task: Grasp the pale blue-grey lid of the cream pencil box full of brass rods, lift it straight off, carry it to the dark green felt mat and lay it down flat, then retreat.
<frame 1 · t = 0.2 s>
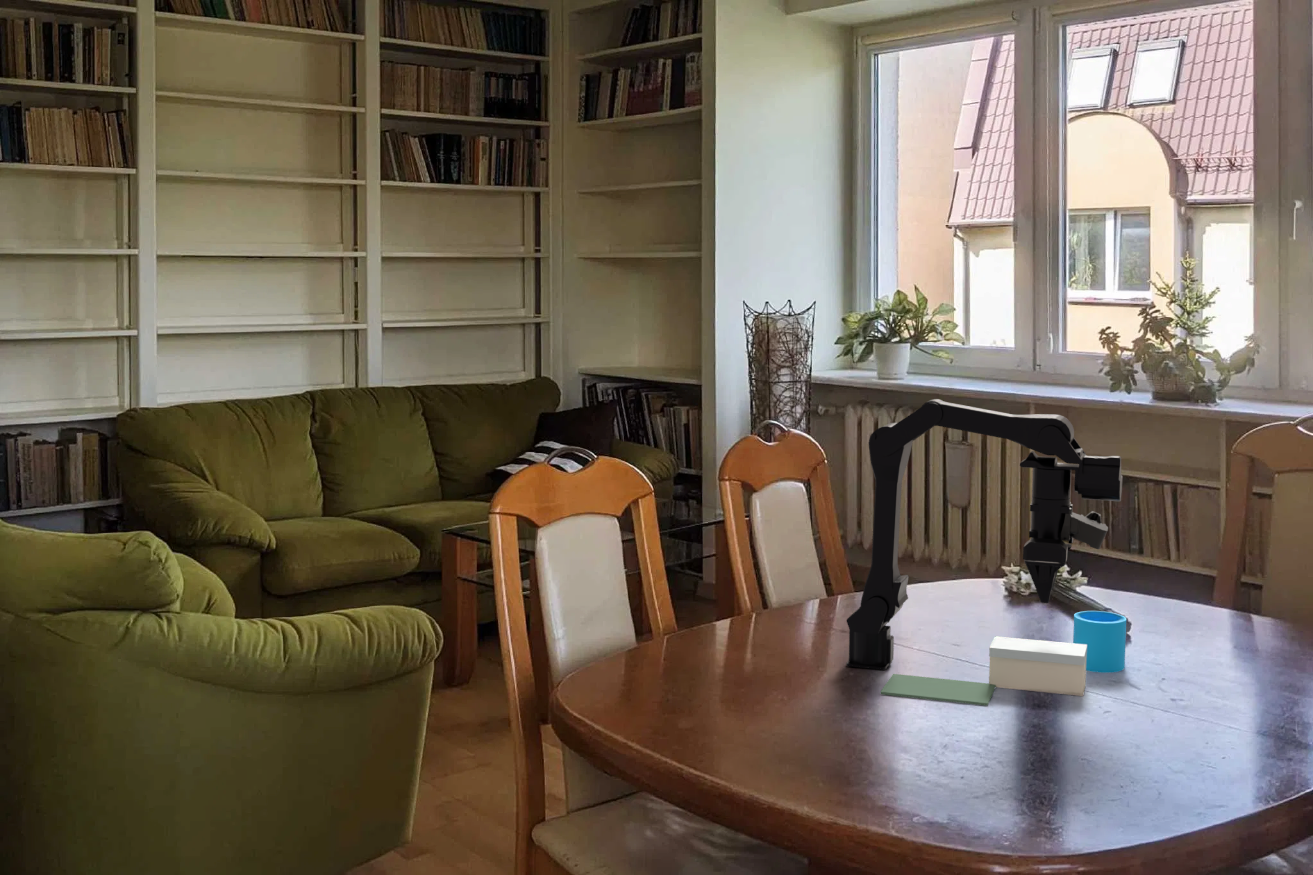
hand: (1047, 596, 209), 14 cm above the table, fingers open, 9 cm apart
felt mat: (938, 690, 207), on the table
pencil box: (1037, 686, 209), on the table
mug: (1103, 664, 221), on the table
lid: (1038, 654, 208), point 5 cm above the table, touching pencil box
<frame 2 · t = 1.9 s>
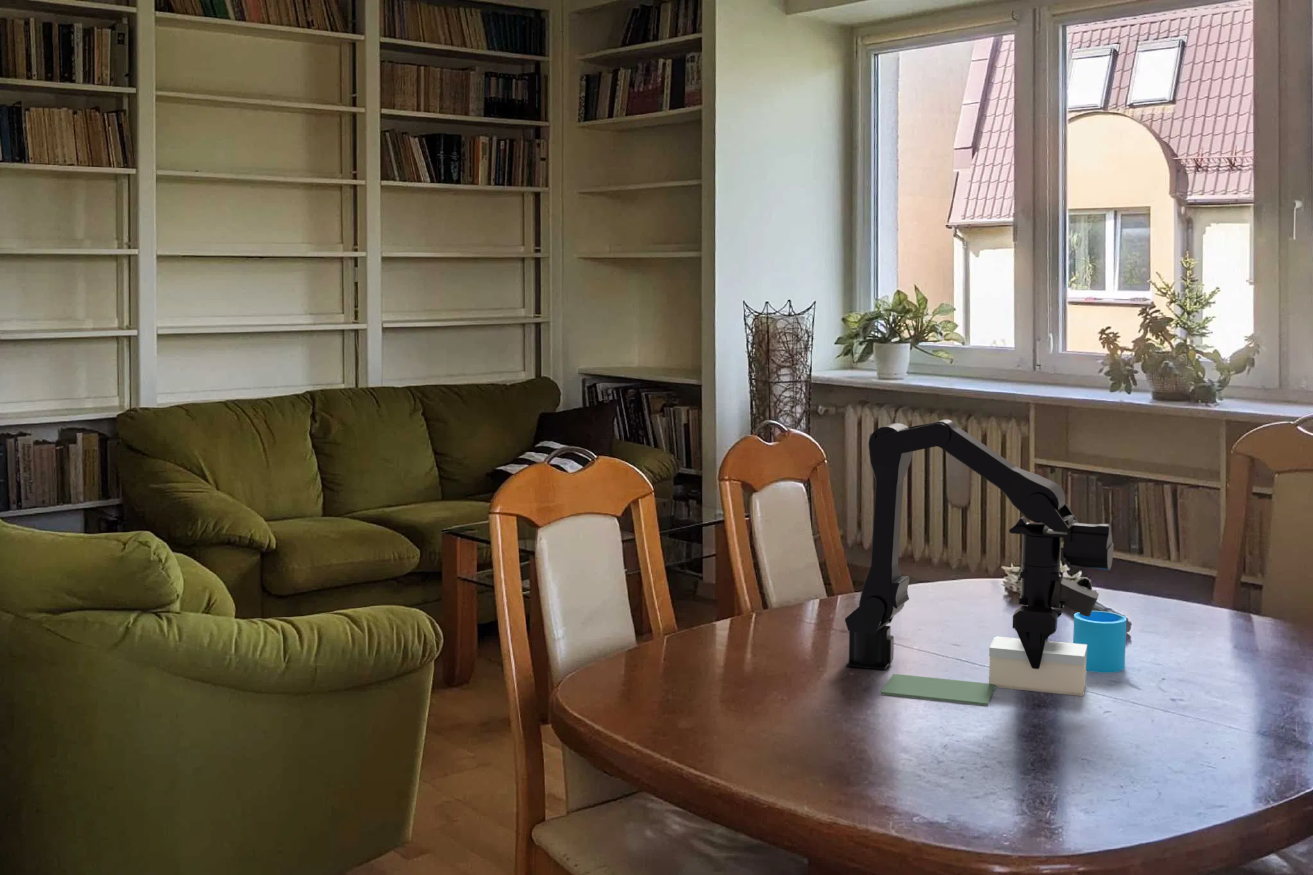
hand: (1037, 662, 208), 4 cm above the table, fingers closed on lid, 7 cm apart
lid: (1038, 654, 208), point 5 cm above the table, touching gripper, pencil box
everything else where it was.
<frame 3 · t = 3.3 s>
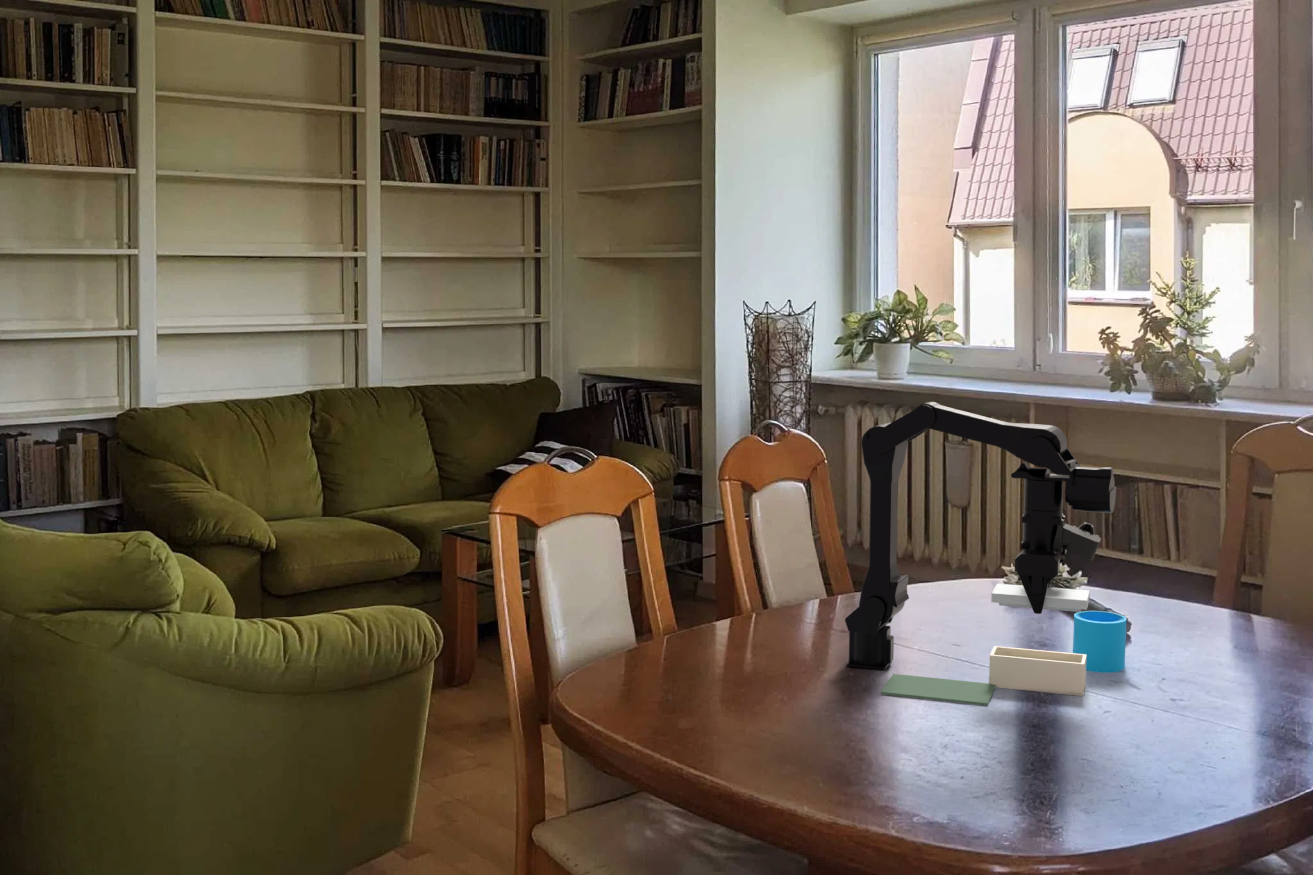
hand: (1040, 607, 207), 12 cm above the table, fingers closed on lid, 7 cm apart
lid: (1040, 600, 207), point 14 cm above the table, touching gripper
everything else where it was.
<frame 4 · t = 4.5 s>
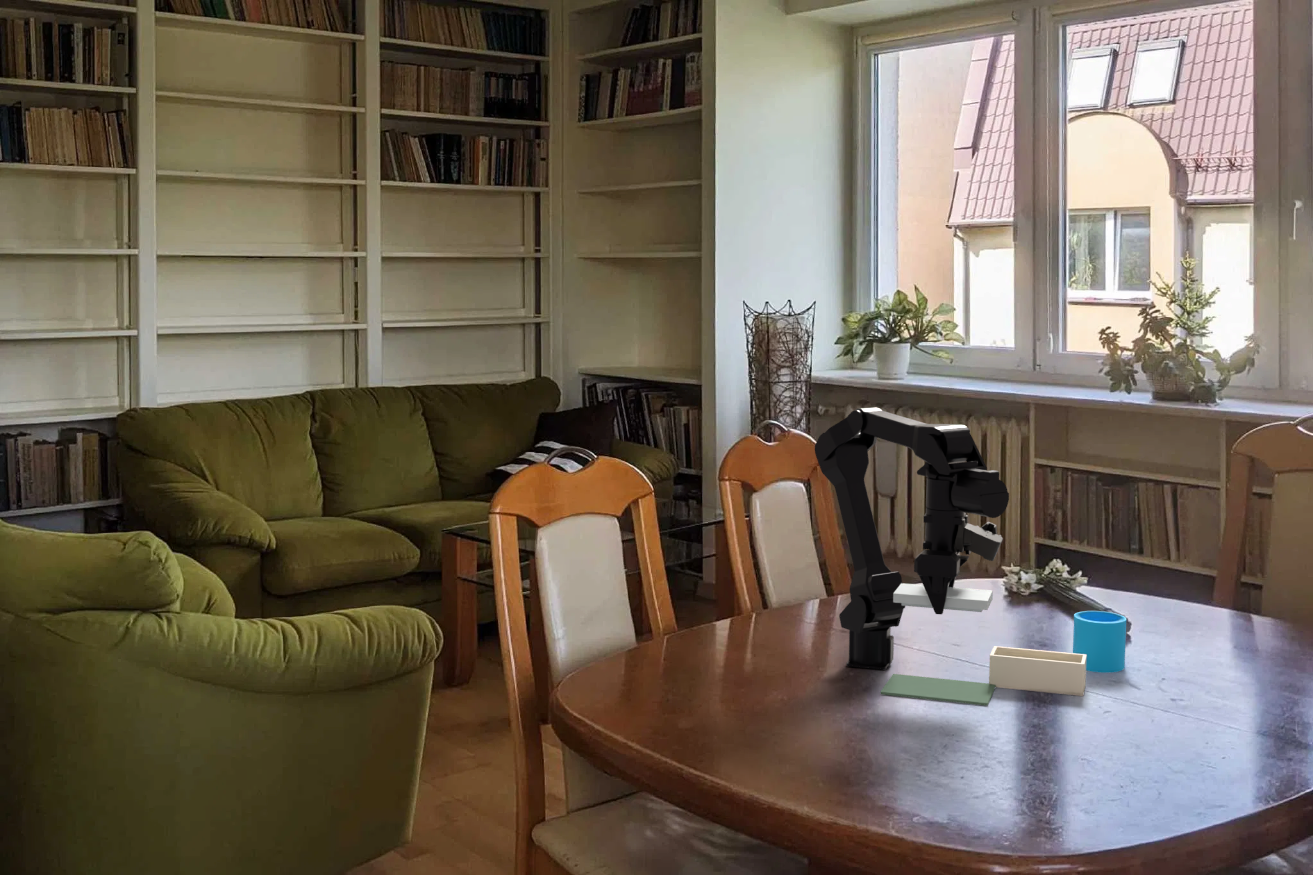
hand: (942, 608, 205), 13 cm above the table, fingers closed on lid, 7 cm apart
lid: (943, 600, 205), point 14 cm above the table, touching gripper
everything else where it was.
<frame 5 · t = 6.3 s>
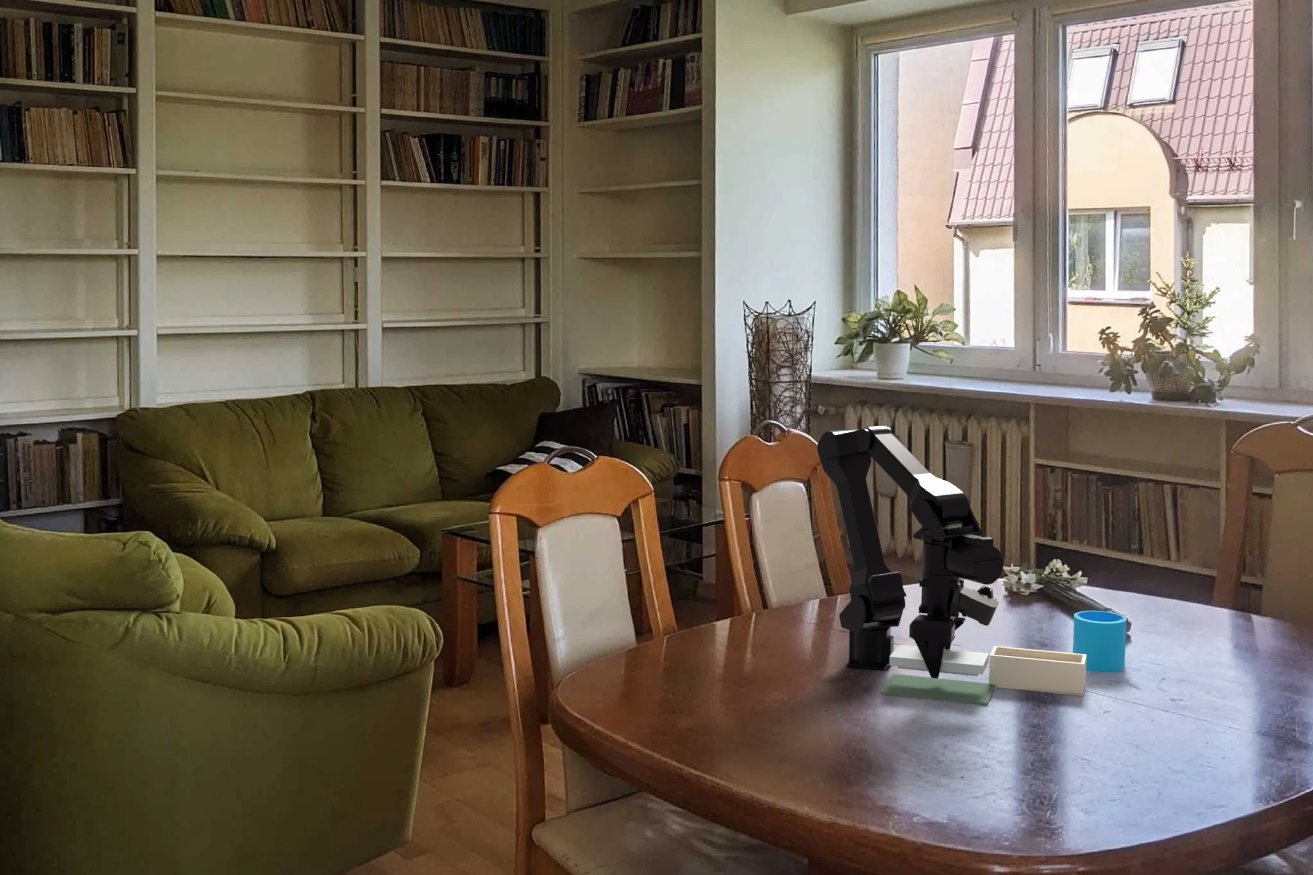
hand: (938, 671, 206), 3 cm above the table, fingers closed on lid, 7 cm apart
lid: (939, 663, 206), point 4 cm above the table, touching gripper
everything else where it was.
when the fingers open (2 cm above the table, at t = 7.6 s): lid drops 2 cm, resting on felt mat.
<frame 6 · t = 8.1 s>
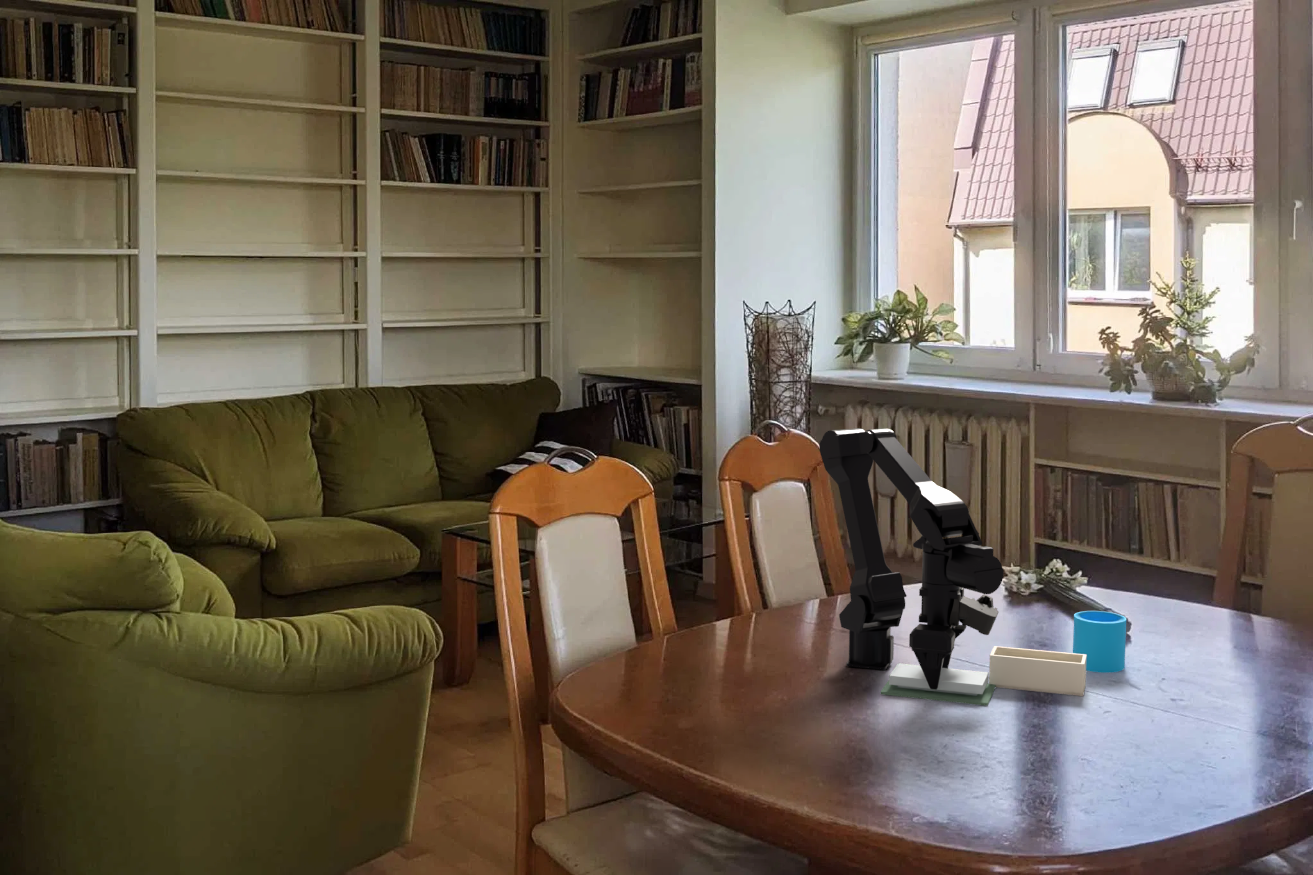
hand: (938, 680, 207), 2 cm above the table, fingers open, 9 cm apart
lid: (938, 682, 207), point 1 cm above the table, touching felt mat
everything else where it was.
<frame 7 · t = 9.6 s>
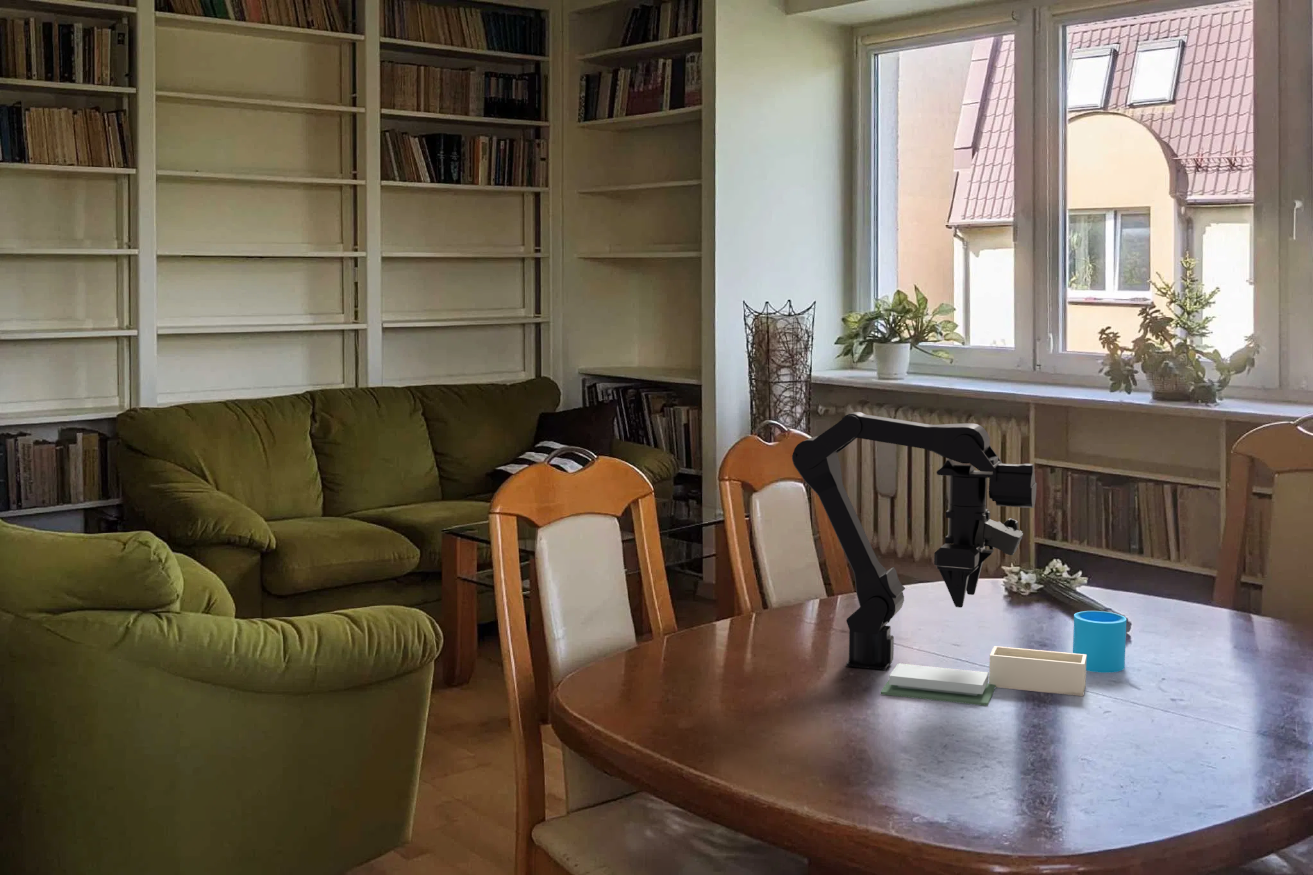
hand: (965, 600, 214), 12 cm above the table, fingers open, 9 cm apart
nothing on the table moved.
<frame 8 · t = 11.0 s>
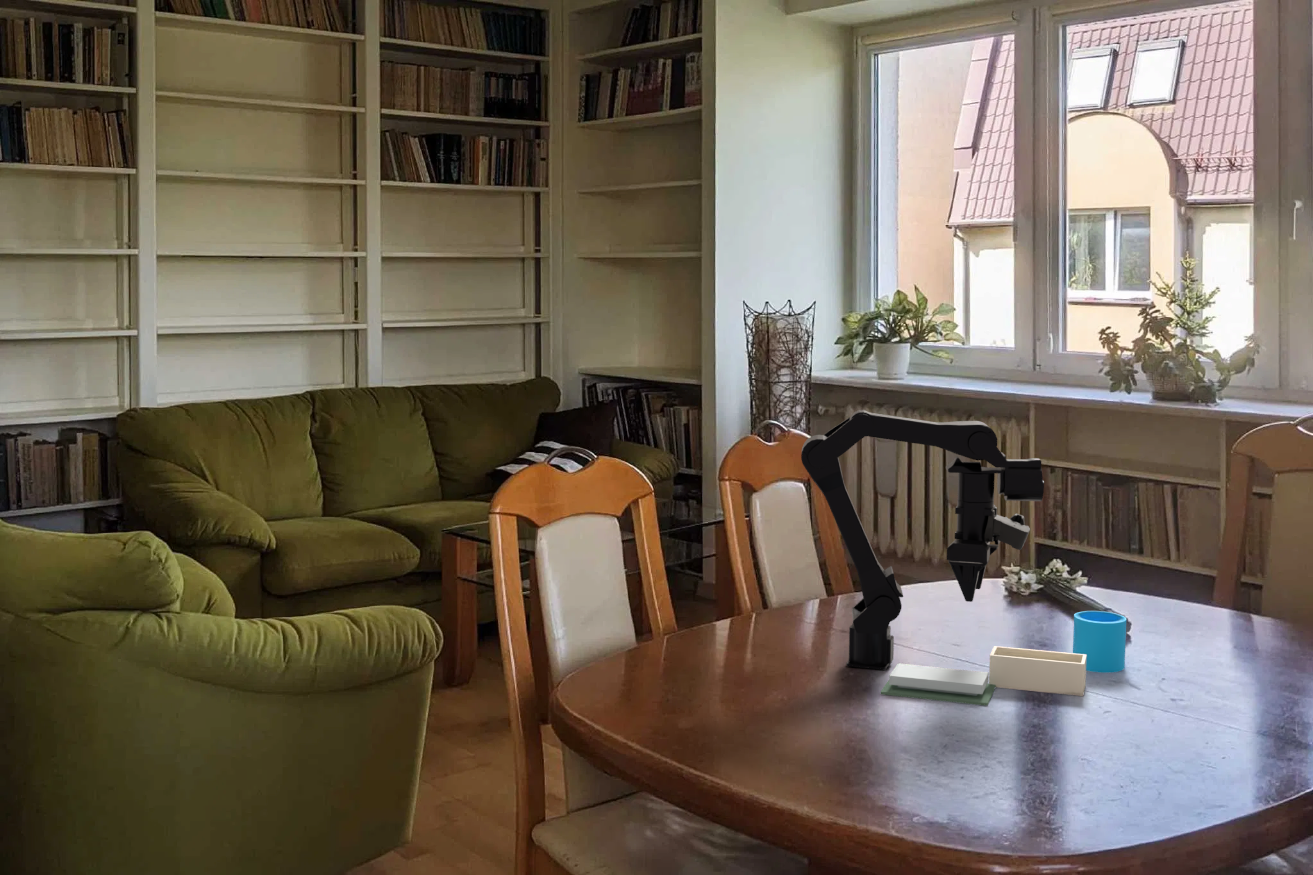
hand: (973, 594, 218), 12 cm above the table, fingers open, 9 cm apart
nothing on the table moved.
at the end: lid inside the target area on the felt mat (0.0 cm from its centre), point 1.2 cm above the felt mat's base; lid tilted 0°; the gripper is holding nothing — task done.
